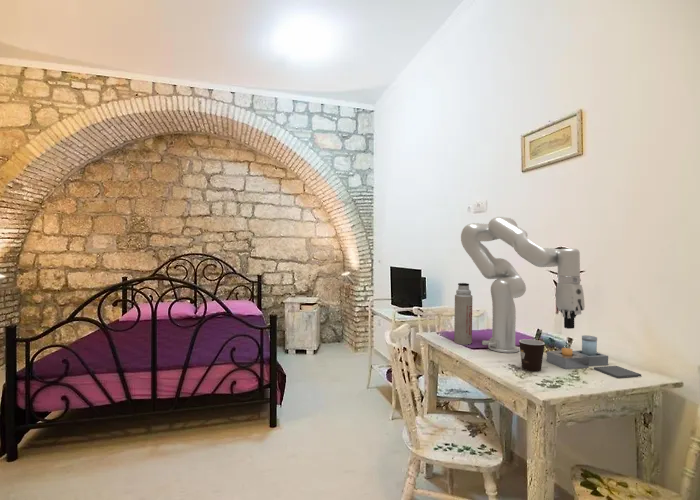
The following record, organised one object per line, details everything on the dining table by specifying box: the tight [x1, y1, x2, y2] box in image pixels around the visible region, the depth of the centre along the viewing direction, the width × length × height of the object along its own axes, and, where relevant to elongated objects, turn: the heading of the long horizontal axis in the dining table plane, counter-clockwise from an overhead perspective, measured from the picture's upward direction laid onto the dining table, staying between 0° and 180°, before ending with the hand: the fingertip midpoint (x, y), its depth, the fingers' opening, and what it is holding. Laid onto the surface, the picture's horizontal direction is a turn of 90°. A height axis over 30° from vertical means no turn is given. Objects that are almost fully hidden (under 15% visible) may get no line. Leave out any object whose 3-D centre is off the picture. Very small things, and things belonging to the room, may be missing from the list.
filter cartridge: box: [581, 334, 598, 356], centre depth 153 cm, size 5×5×10 cm
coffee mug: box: [518, 338, 545, 373], centre depth 145 cm, size 12×9×10 cm
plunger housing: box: [546, 349, 589, 370], centre depth 150 cm, size 10×10×4 cm
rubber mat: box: [593, 365, 642, 379], centre depth 140 cm, size 10×10×1 cm
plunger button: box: [561, 347, 574, 356], centre depth 150 cm, size 4×4×4 cm
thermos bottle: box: [453, 282, 473, 346], centre depth 182 cm, size 8×8×28 cm
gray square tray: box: [573, 349, 609, 367], centre depth 153 cm, size 9×9×4 cm
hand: (569, 328), depth 149 cm, fingers closed
